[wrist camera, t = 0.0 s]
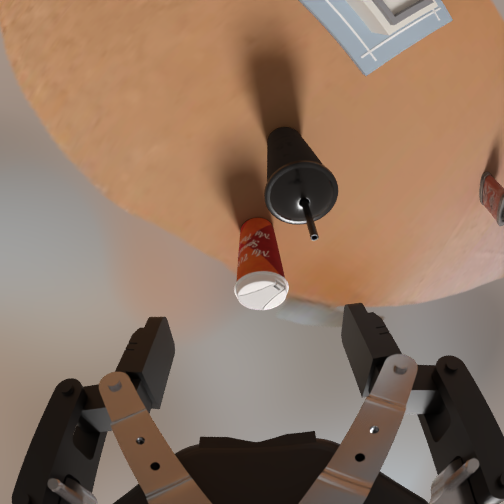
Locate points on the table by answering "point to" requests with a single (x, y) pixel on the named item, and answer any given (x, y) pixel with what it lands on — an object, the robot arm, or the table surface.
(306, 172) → the drinking cup
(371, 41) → the plan board
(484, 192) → the lighter
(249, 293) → the paper cup
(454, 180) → the table surface
